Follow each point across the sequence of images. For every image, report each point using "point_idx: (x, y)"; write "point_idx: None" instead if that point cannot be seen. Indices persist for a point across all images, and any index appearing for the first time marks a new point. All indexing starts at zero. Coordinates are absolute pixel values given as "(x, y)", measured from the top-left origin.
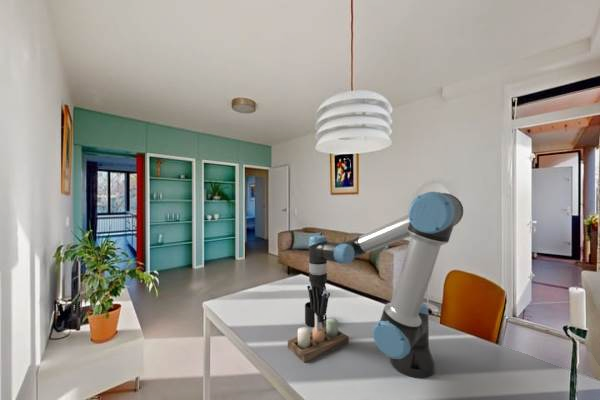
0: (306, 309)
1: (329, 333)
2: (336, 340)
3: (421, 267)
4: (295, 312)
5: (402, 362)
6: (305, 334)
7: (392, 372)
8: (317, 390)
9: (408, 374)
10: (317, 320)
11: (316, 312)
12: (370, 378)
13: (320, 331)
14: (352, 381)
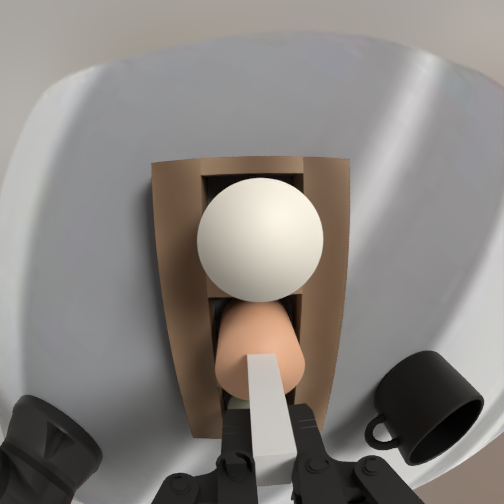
0: (462, 391)
1: (245, 400)
2: (187, 392)
3: None
4: (491, 345)
5: (21, 413)
6: (200, 223)
7: (35, 386)
8: (27, 143)
9: (21, 397)
10: (251, 413)
11: (294, 468)
12: (20, 327)
13: (226, 366)
14: (17, 274)
